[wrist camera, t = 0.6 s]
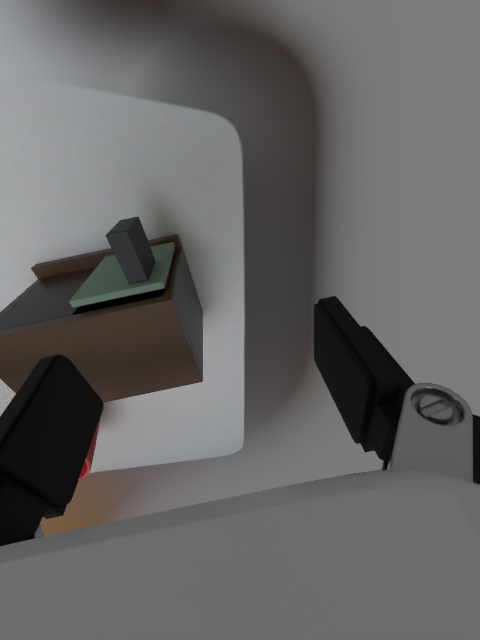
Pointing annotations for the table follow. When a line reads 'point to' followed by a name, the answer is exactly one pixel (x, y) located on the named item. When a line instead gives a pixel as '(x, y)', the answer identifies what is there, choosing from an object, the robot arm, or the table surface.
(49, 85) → the table surface
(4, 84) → the table surface
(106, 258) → the sliding door
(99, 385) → the cupboard
